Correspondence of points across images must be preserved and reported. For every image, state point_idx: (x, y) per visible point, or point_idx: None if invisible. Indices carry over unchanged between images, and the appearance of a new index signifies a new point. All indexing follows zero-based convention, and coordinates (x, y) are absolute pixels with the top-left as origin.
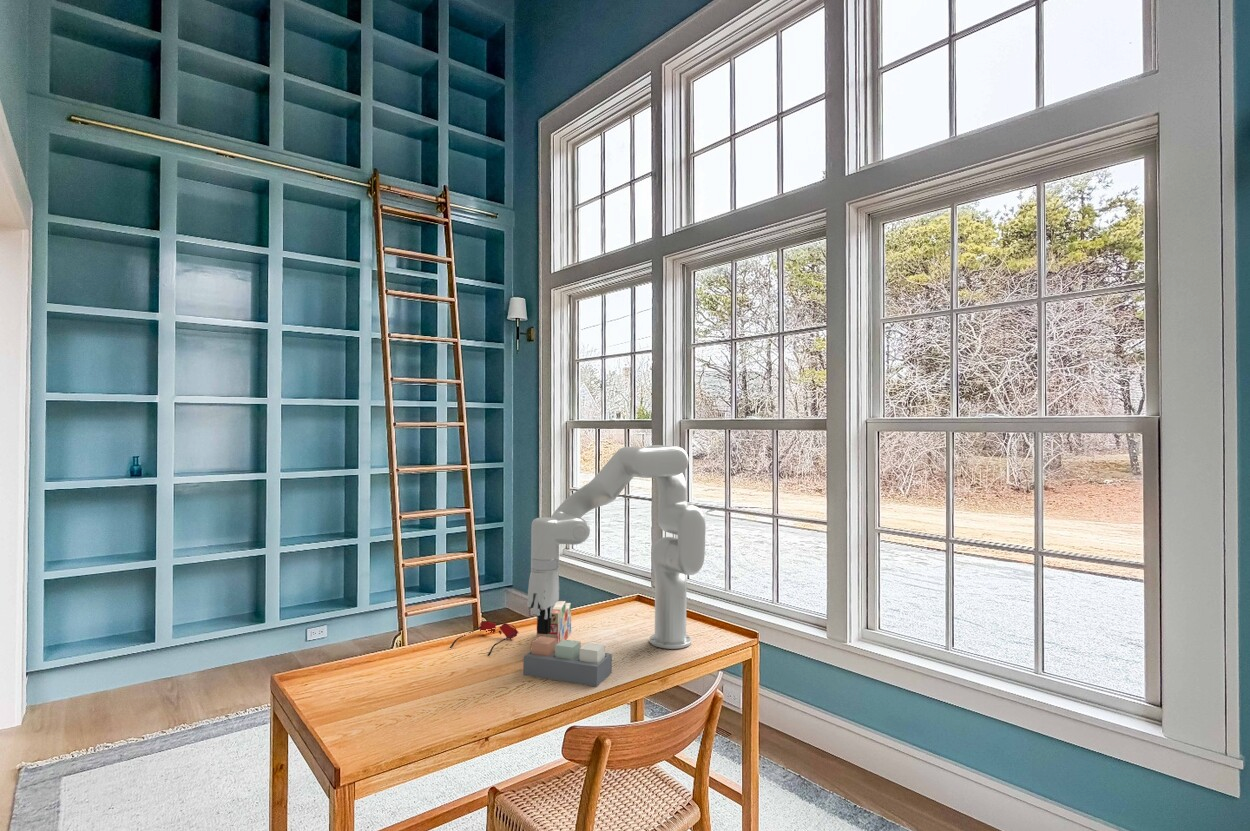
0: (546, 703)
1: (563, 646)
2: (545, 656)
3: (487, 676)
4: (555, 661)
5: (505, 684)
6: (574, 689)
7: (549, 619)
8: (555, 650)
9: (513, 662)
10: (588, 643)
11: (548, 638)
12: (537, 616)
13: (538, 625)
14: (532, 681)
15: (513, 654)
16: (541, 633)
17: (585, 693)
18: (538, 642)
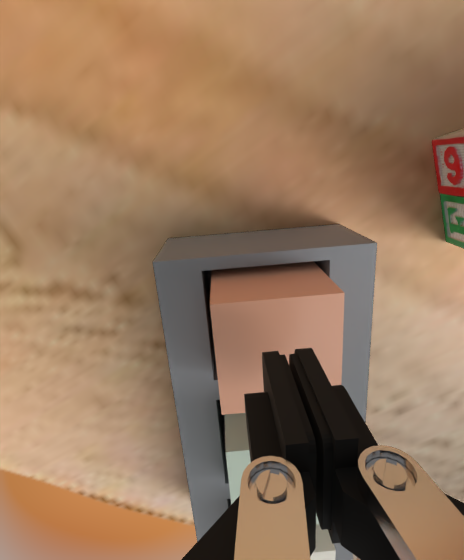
0: (6, 444)
1: (230, 490)
2: (202, 367)
3: (58, 86)
4: (179, 427)
5: (39, 230)
6: (151, 460)
7: (325, 527)
8: (225, 429)
9: (283, 94)
10: (324, 558)
11: (320, 362)
12: (213, 524)
13: (270, 397)
14: (130, 310)
15: (393, 12)
16: (263, 380)
17: (142, 496)
18: (220, 349)
